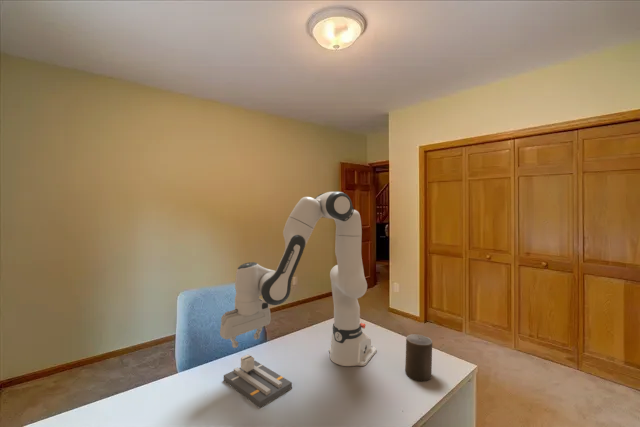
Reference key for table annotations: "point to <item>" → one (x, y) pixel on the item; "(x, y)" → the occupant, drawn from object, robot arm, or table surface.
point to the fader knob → (247, 363)
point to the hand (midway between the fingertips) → (246, 342)
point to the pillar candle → (418, 357)
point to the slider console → (258, 384)
